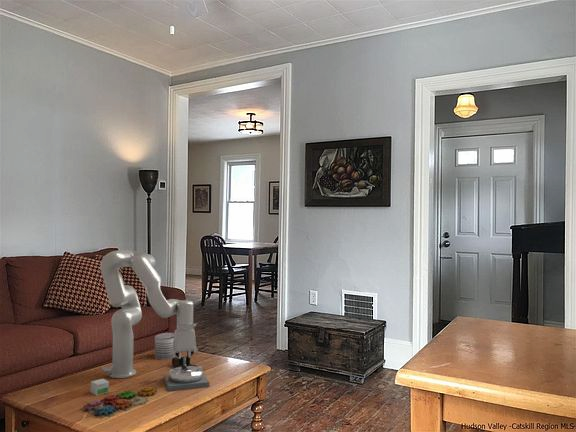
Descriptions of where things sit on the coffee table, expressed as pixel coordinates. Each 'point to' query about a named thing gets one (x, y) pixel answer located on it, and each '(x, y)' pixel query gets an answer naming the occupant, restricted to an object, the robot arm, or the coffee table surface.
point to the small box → (99, 386)
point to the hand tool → (175, 362)
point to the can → (164, 346)
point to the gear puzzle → (118, 402)
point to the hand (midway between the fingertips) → (184, 365)
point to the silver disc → (186, 373)
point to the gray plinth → (181, 386)
